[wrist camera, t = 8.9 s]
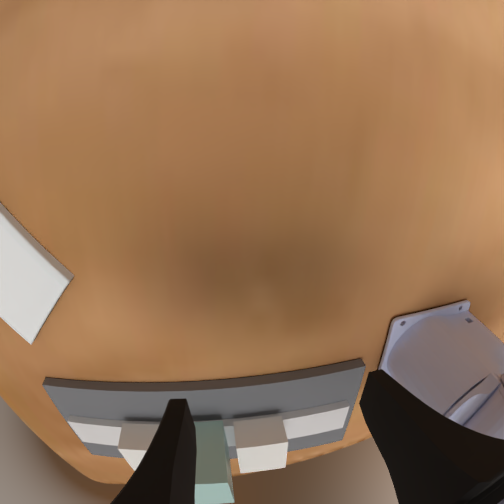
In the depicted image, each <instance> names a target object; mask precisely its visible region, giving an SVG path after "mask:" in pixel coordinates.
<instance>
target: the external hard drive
mask: <svg viewBox="0 0 504 504" xmlns="http://www.w3.org/2000/svg"><path fill="white" fill-rule="evenodd" d="M73 277H74V275H73V274H72V273H71V272H70V271H69V270H68V269H66V268H65V267H64V266H63V265H62V264H61V263H60V262H59V261H58V260H57V259H56V258H54V257H53V256H52V255H51V254H50V253H49V252H48V251H47V250H46V249H45V248H44V247H43V246H42V245H41V244H40V243H39V242H38V241H37V240H36V239H35V238H34V237H33V236H32V235H31V234H30V233H29V232H28V231H27V230H26V229H25V228H24V227H23V226H22V225H21V224H20V223H19V222H18V221H17V220H16V219H15V218H14V217H13V216H12V215H11V213H10V212H9V211H8V210H7V209H6V208H5V207H4V206H3V205H2V204H1V202H0V317H1V318H2V319H3V320H4V321H5V322H6V323H7V324H8V325H9V326H11V327H12V328H13V329H14V330H15V331H16V332H17V333H18V334H19V335H21V336H22V337H23V338H24V339H25V340H26V341H27V342H29V343H30V344H32V343H33V342H34V340H35V338H36V337H37V335H38V333H39V331H40V330H41V328H42V326H43V324H44V323H45V321H46V319H47V318H48V316H49V314H50V313H51V311H52V309H53V308H54V306H55V305H56V303H57V301H58V300H59V298H60V297H61V295H62V294H63V292H64V291H65V289H66V288H67V286H68V285H69V283H70V282H71V280H72V279H73Z"/></svg>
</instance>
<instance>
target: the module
mask: <svg viewBox="0 0 504 504" xmlns="http://www.w3.org/2000/svg"><path fill="white" fill-rule="evenodd" d="M194 425H195V428H196V444H197V457H196V477H195V504H218V503H234V494H233V484H232V475H231V466H230V456H229V448H228V443H227V439H226V434H225V430H224V425H223V421H222V420H221V421H207V422H194Z"/></svg>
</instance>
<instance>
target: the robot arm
mask: <svg viewBox="0 0 504 504" xmlns="http://www.w3.org/2000/svg"><path fill="white" fill-rule="evenodd" d="M469 307H470V302H469V301H468V300H465V301H461V302H457V303H454V304H450V305H446V306H442V307H438V308H434V309H430V310H426V311H422V312H418V313H413V314H409V315H405V316H400V317H396V318H395V319H393V321H392V322H391V326H390V330H389V334H388V337H387V341H386V345H385V348H384V352H383V355H382V359H381V362H380V365H379V369H378V370H376V371H373V372H369V374H368V377H367V381H366V384H365V387H364V390H363V394H362V397H361V400H360V403H359V404H360V407H361V410H362V413H363V416H364V419H365V422H366V424H367V426H368V428H369V430H370V432H371V434H372V436H373V438H374V440H375V442H376V444H377V446H378V448H379V450H380V452H381V454H382V456H383V458H384V460H385V462H386V465H387V467H388V470H389V473H390V476H391V479H392V481H393V485H394V488H395V491H396V495H397V499H398V502H399V504H504V344H503V342H502V341H501V340H500V339H499V338H498V337H497V336H496V335H494V334H493V333H492V332H491V331H490V330H489V329H488V328H487V327H486V326H485V325H484V324H483V323H481V322H480V321H479V320H478V319H477V318H476V317H475V316H474V315H473V314H471V313H470V312H469V311H468V310H469ZM402 321H403V322H402ZM401 322H402V323H401ZM196 457H197V444H196V428H195V425H194V421H193V418H192V415H191V412H190V409H189V406H188V402H187V399H186V398H184V399H170V400H169V401H168V404H167V407H166V409H165V412H164V415H163V417H162V420H161V422H160V424H159V427H158V429H157V431H156V433H155V435H154V437H153V440H152V442H151V444H150V446H149V448H148V449H147V451H146V453H145V455H144V457H143V458H142V460H141V462H140V464H139V465H138V467H137V469H136V470H135V472H134V473H133V475H132V476H131V478H130V479H129V481H128V482H127V484H126V485H125V487H124V488H123V489H122V490H121V491H120V493H119V494H118V495H117V497H116V498H115V499H114V500H113V501H112V503H111V504H195V477H196Z"/></svg>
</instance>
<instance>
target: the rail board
mask: <svg viewBox="0 0 504 504" xmlns="http://www.w3.org/2000/svg"><path fill="white" fill-rule="evenodd" d="M365 367H366V366H365V364H364V362H363V361H362V359H356V360H352V361H347V362H342V363H337V364H332V365H327V366H321V367H316V368H310V369H304V370H298V371H291V372H284V373H277V374H270V375H262V376H253V377H244V378H234V379H222V380H209V381H192V382H164V383H122V382H96V381H80V380H67V379H56V378H47V377H46V378H45V380H44V382H43V384H42V385H43V387H44V389H45V390H46V392H47V393H48V395H49V397H50V398H51V400H52V401H53V403H54V404H55V406H56V407H57V409H58V410H59V412H60V413H61V414H62V416H63V417H64V419H65V420H66V422H67V423H68V424H69V426H70V427H71V428H72V430H73V431H74V432H75V434H76V435H77V436H78V438H79V439H80V440H81V441H82V443H83V444H84V445H85V446H86V448H87V449H88V450H89V451H90V452H91V454H94V455H101V456H109V457H118V458H125V459H126V461H127V462H128V463H129V465H130V466H131V467H132V468H133V470H134V471H135V470H136V469H137V467H138V465H139V464H140V462H141V460H142V458H143V457H144V455H145V453H146V451H147V449H148V448H149V446H150V444H151V442H152V440H153V437H154V435H155V433H156V431H157V429H158V427H159V424H160V422H161V420H162V417H163V415H164V412H165V409H166V407H167V404H168V401H169V400H170V399H184V398H186V399H187V402H188V406H189V409H190V412H191V415H192V418H193V421H194V422H207V421H221V420H222V421H223V425H224V430H225V434H226V439H227V443H228V448H229V456H230V459H232V458H238V462H239V467H240V473H247V472H256V471H264V470H271V469H278V468H284V467H285V466H286V457H287V452H288V451H294V450H299V449H304V448H309V447H314V446H319V445H323V444H328V443H332V442H336V441H340V440H342V439H343V436H344V434H345V431H346V428H347V425H348V422H349V419H350V416H351V413H352V410H353V407H354V404H355V401H356V398H357V395H358V391H359V388H360V385H361V381H362V378H363V374H364V371H365Z"/></svg>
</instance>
